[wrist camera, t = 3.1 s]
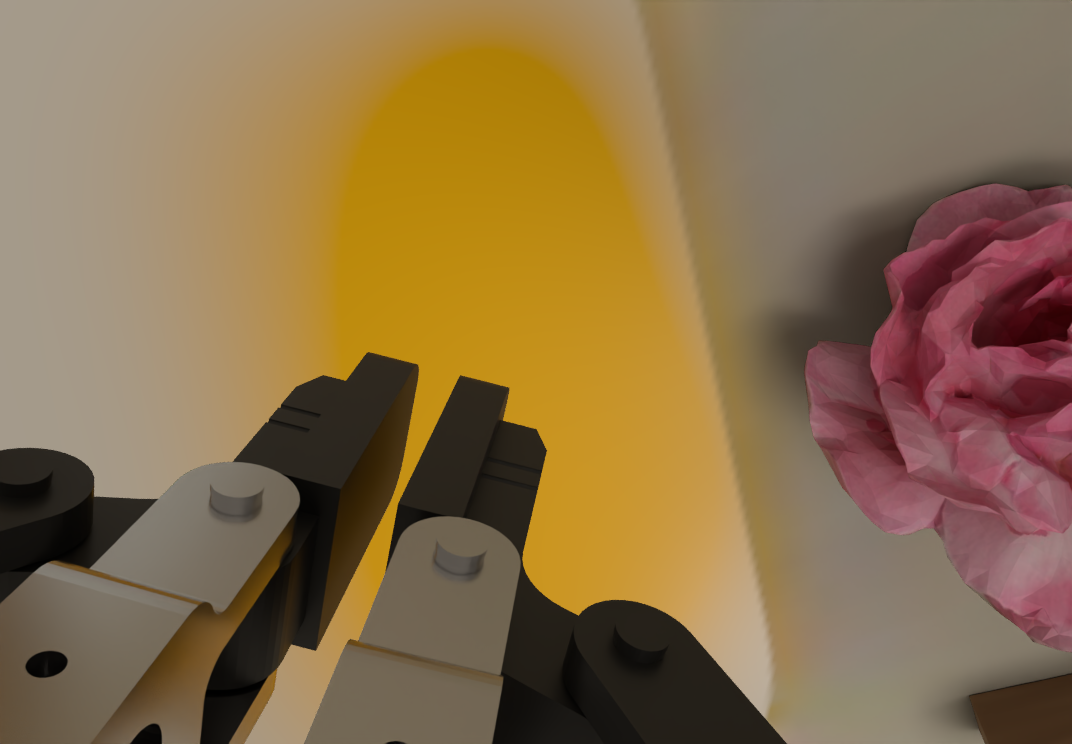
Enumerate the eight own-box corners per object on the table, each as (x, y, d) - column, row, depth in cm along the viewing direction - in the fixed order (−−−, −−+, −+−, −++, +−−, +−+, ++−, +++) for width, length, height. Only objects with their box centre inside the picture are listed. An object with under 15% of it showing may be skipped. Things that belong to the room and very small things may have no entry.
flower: (853, 164, 29) (1138, 25, 20) (1093, 327, 31) (1459, 273, 22) (695, 497, 27) (928, 525, 17) (963, 649, 29) (1307, 751, 19)
